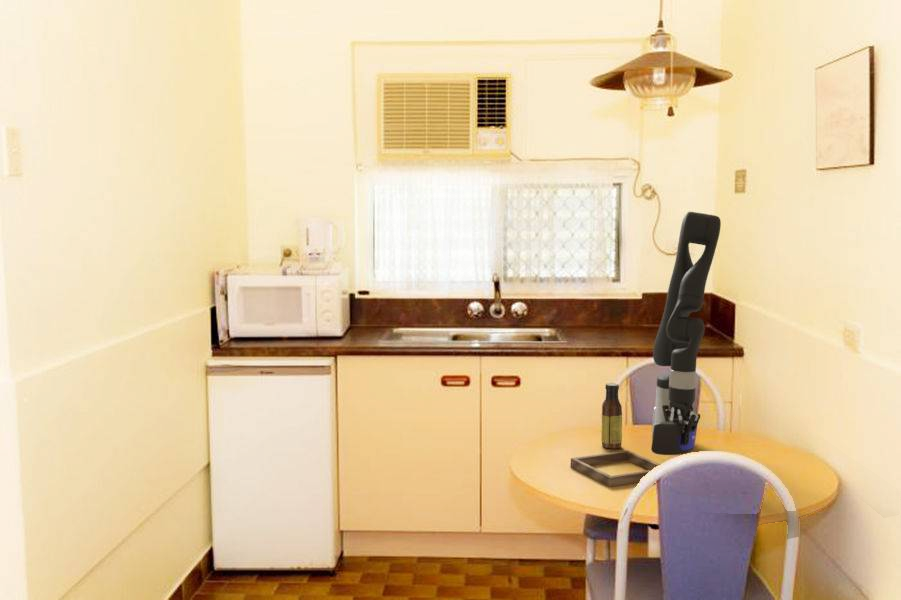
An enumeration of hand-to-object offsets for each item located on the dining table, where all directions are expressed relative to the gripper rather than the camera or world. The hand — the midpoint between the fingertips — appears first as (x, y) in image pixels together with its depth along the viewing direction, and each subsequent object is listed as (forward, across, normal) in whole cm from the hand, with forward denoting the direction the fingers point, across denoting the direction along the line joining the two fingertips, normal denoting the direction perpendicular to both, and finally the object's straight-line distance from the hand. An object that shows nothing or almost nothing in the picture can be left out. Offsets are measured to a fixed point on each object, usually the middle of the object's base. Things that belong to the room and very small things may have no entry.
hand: (679, 442), depth 246 cm
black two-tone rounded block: (+3, +2, 0) cm, 4 cm away
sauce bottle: (+6, +21, +8) cm, 24 cm away
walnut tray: (+6, +1, +21) cm, 22 cm away
